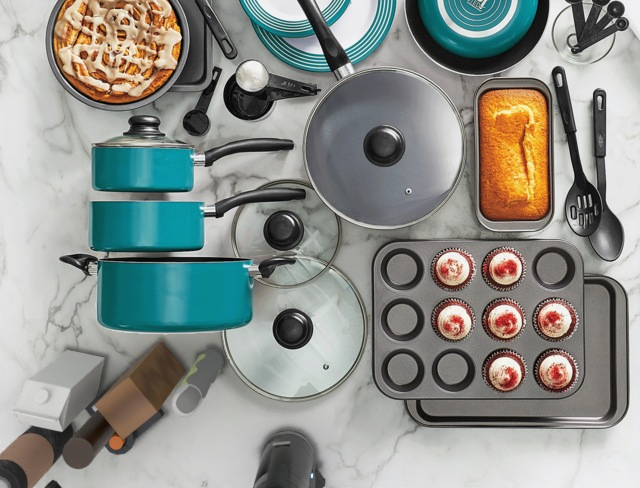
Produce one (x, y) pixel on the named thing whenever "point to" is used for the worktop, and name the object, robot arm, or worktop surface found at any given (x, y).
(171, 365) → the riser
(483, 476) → the worktop surface
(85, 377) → the milk carton
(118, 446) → the button
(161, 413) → the scale
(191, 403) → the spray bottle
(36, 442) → the travel mug
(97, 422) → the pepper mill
